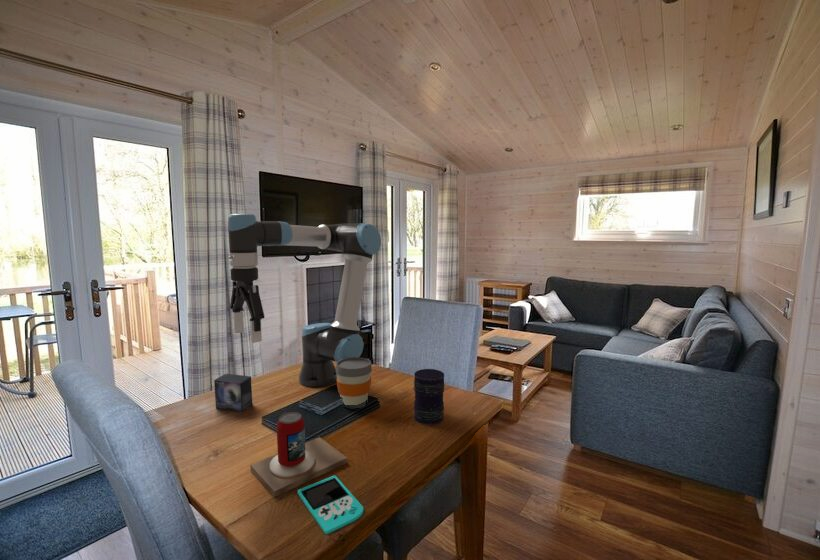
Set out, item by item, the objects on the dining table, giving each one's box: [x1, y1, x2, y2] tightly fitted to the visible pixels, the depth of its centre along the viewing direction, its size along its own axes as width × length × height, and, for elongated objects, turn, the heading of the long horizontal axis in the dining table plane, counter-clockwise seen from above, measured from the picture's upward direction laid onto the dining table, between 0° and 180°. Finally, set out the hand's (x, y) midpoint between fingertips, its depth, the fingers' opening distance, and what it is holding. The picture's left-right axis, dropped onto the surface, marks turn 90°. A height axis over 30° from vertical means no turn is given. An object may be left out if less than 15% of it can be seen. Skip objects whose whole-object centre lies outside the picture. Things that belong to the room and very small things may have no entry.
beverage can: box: [276, 411, 306, 467], centre depth 101 cm, size 7×7×12 cm
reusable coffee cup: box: [335, 356, 373, 405], centre depth 139 cm, size 13×13×15 cm
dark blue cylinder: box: [413, 368, 445, 426], centre depth 129 cm, size 10×10×15 cm
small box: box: [213, 373, 253, 413], centre depth 137 cm, size 11×6×10 cm, turn 76°
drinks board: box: [250, 436, 348, 498], centre depth 103 cm, size 20×14×2 cm
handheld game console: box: [297, 475, 364, 535], centre depth 90 cm, size 10×16×1 cm, turn 37°
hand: (247, 337), depth 120 cm, fingers open, 13 cm apart
